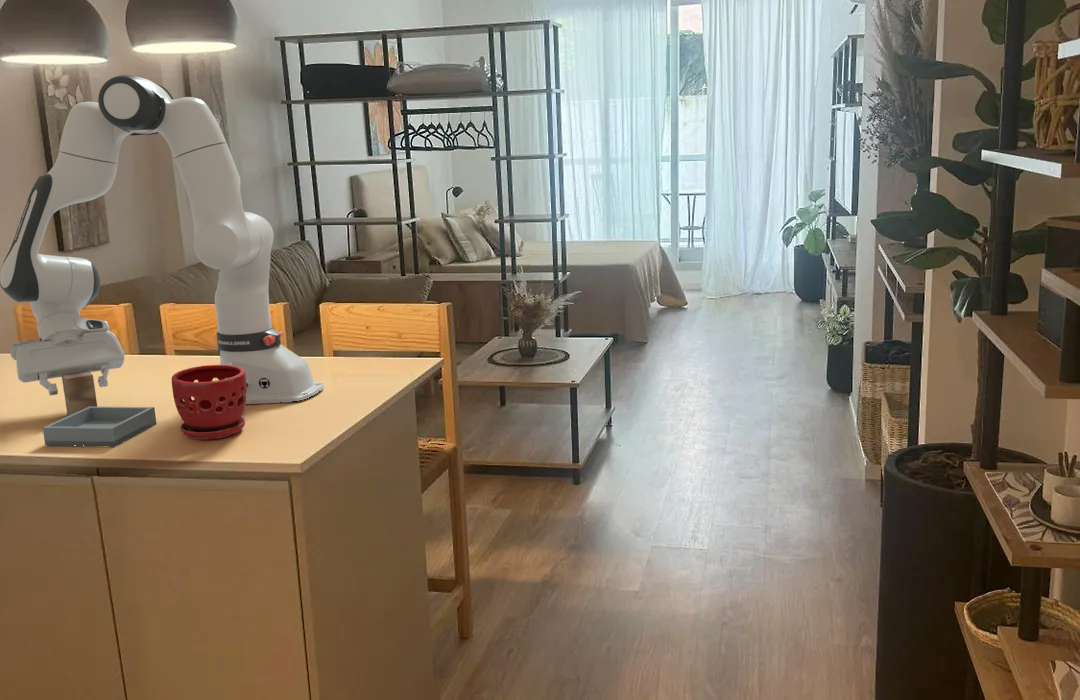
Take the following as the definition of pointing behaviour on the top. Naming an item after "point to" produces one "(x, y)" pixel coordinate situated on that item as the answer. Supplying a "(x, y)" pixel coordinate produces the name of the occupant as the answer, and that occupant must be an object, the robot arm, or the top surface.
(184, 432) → the plant pot
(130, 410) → the tray
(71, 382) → the walnut block
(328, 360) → the top surface
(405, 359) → the top surface
